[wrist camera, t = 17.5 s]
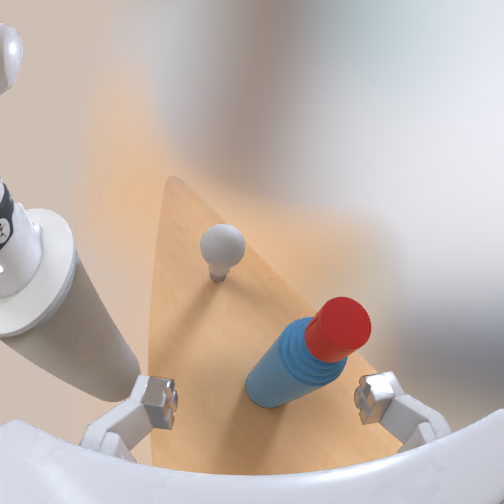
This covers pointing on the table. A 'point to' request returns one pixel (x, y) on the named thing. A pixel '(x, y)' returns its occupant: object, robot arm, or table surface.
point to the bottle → (289, 369)
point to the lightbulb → (222, 249)
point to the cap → (337, 330)
